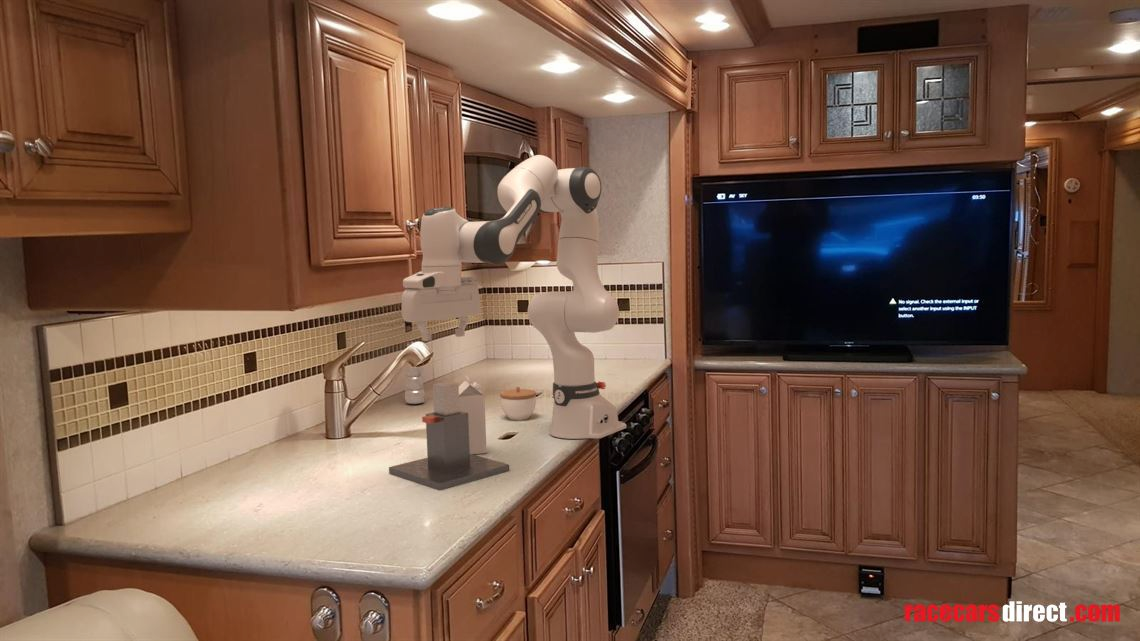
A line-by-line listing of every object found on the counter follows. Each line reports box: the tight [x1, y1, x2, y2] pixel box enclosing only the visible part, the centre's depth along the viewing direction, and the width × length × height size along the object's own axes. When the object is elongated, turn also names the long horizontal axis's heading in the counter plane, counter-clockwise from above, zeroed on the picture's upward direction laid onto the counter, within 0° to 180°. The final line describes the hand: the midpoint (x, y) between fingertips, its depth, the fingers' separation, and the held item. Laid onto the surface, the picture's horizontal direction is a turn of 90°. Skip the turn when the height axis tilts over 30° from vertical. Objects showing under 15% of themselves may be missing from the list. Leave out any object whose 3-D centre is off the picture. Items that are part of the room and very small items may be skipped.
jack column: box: [432, 381, 460, 417], centre depth 204 cm, size 4×4×18 cm
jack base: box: [388, 411, 510, 491], centre depth 204 cm, size 20×20×14 cm
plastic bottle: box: [404, 342, 426, 405], centre depth 284 cm, size 6×7×20 cm
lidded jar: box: [499, 386, 537, 421], centre depth 261 cm, size 11×11×9 cm
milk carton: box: [459, 375, 488, 455], centre depth 222 cm, size 7×7×19 cm
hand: (443, 338), depth 201 cm, fingers open, 8 cm apart
